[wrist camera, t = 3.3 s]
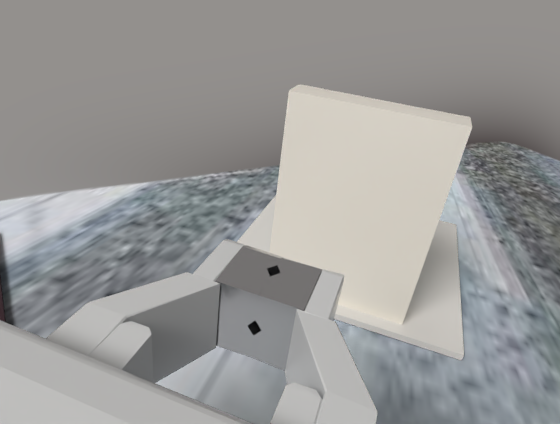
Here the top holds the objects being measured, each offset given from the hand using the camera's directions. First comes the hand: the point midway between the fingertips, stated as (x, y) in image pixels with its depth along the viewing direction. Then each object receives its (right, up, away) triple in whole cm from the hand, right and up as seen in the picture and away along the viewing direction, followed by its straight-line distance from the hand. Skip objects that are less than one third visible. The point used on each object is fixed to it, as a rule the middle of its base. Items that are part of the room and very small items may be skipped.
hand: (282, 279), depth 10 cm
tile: (+4, -4, +20) cm, 21 cm away
